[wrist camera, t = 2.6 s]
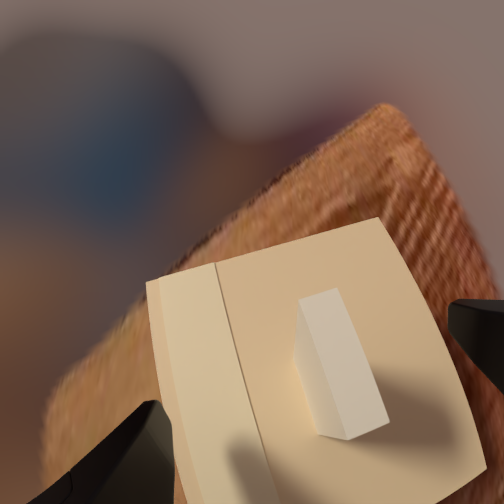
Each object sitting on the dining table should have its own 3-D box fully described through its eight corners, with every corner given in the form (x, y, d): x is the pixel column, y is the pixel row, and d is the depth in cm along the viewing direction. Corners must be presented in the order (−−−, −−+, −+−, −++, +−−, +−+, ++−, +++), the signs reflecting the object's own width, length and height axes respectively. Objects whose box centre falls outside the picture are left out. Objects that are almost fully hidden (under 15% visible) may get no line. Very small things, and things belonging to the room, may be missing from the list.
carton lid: (479, 468, 7) (579, 463, 2) (216, 565, 6) (163, 640, 1) (375, 225, 13) (404, 123, 9) (151, 288, 13) (85, 202, 8)
